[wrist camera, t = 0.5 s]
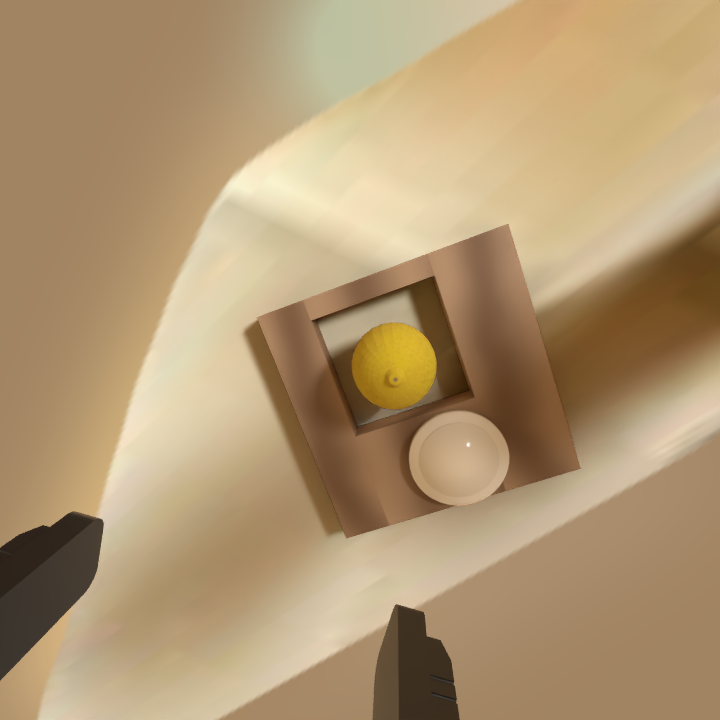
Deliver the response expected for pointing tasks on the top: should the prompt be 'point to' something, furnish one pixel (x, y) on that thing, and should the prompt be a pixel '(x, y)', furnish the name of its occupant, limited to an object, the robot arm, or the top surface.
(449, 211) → the top surface
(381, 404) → the lemon
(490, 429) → the saucer
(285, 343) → the pocket board
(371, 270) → the top surface
